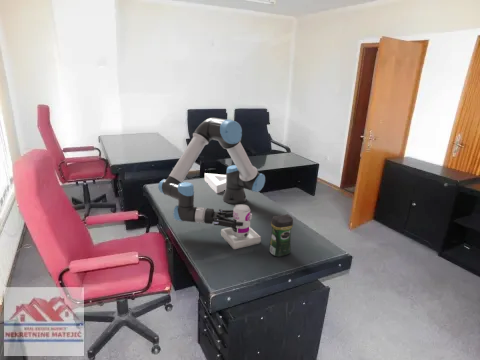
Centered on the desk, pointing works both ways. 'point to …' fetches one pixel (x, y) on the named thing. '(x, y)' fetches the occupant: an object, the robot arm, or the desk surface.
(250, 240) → the tray
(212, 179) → the triangle block
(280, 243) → the coffee jar
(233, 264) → the desk surface
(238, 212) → the supplement can
